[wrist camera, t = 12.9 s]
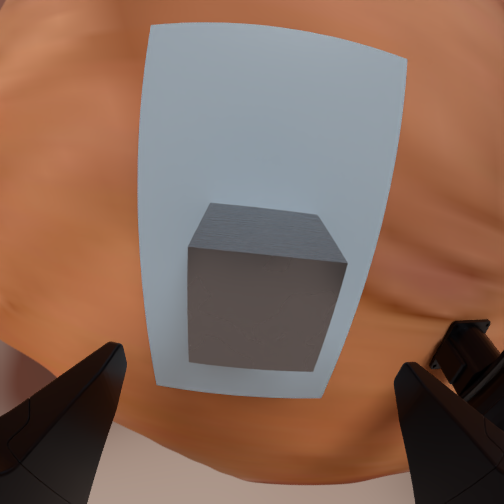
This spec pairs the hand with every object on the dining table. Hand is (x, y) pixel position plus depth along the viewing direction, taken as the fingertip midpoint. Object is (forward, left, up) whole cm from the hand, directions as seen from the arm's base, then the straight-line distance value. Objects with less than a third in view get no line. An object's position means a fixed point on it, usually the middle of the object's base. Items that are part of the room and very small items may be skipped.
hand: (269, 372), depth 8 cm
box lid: (0, 0, -8) cm, 8 cm away
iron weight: (0, 0, -7) cm, 7 cm away
